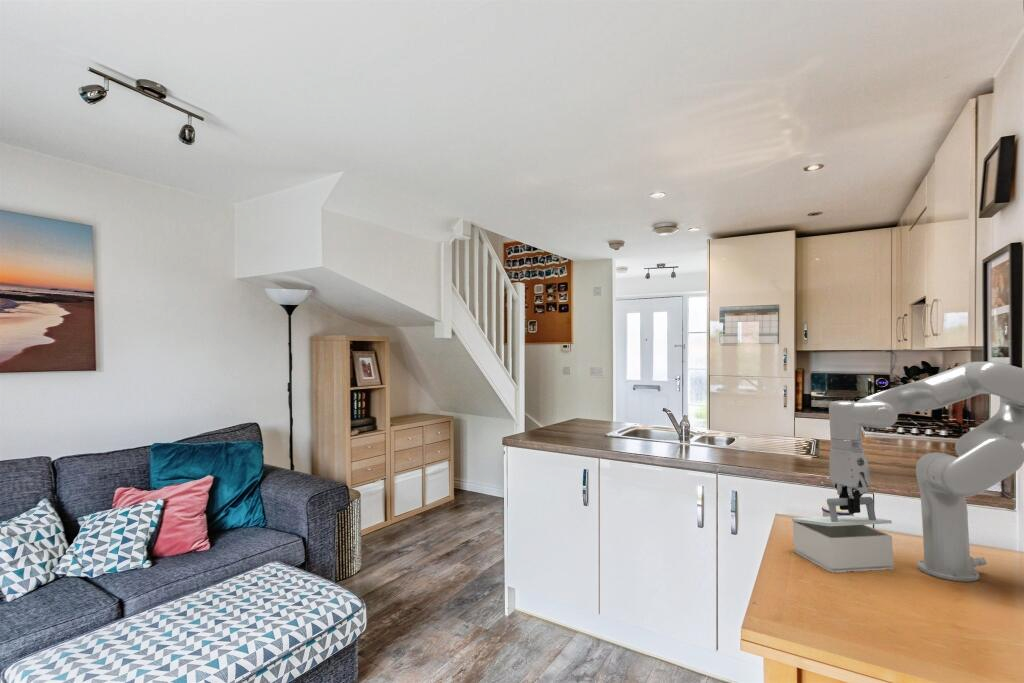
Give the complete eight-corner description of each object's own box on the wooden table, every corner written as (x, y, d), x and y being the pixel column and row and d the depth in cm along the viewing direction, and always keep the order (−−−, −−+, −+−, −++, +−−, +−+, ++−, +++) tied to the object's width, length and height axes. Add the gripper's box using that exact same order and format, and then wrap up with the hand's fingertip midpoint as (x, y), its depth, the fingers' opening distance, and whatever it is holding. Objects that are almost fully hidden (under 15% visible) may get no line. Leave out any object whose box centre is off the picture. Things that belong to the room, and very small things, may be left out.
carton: (849, 548, 156) (848, 518, 156) (893, 569, 140) (891, 535, 140) (794, 551, 154) (792, 521, 155) (831, 572, 138) (830, 538, 139)
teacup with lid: (854, 543, 161) (852, 505, 161) (820, 537, 166) (819, 501, 167) (857, 533, 170) (856, 497, 171) (826, 528, 176) (824, 493, 176)
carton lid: (848, 518, 156) (844, 494, 158) (892, 523, 140) (886, 496, 142) (792, 521, 154) (788, 496, 156) (829, 526, 139) (824, 499, 140)
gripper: (882, 448, 137) (886, 518, 136) (837, 440, 153) (840, 503, 152) (856, 449, 136) (860, 520, 135) (814, 441, 152) (817, 504, 151)
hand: (849, 510), depth 143 cm, fingers open, 2 cm apart
